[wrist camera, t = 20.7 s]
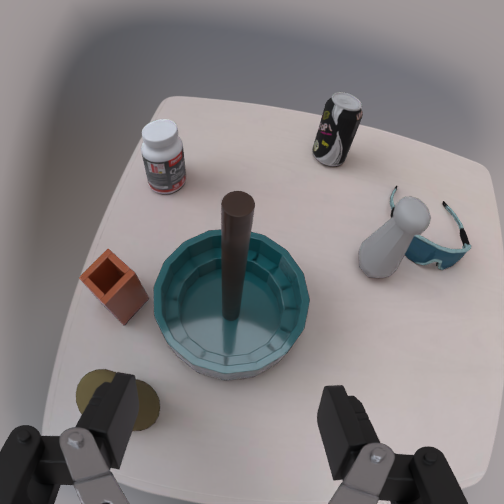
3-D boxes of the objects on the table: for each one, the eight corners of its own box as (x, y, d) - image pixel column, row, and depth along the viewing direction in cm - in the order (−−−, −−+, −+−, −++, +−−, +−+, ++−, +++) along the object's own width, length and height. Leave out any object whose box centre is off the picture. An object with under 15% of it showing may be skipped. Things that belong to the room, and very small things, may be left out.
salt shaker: (350, 277, 41) (392, 220, 29) (355, 241, 44) (393, 180, 32) (389, 289, 40) (440, 238, 29) (392, 254, 43) (437, 198, 32)
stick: (218, 313, 36) (214, 205, 19) (229, 301, 37) (235, 185, 20) (232, 324, 36) (241, 222, 19) (243, 311, 37) (261, 201, 19)
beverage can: (306, 147, 52) (321, 89, 42) (335, 144, 54) (354, 90, 43) (319, 170, 50) (339, 111, 39) (349, 167, 51) (372, 111, 40)
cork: (138, 441, 29) (102, 448, 19) (99, 405, 30) (53, 396, 21) (171, 403, 31) (148, 396, 22) (130, 368, 33) (95, 346, 23)
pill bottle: (181, 197, 45) (174, 145, 36) (144, 193, 45) (131, 143, 36) (190, 168, 48) (185, 117, 39) (155, 165, 48) (145, 116, 39)
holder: (99, 301, 36) (78, 277, 30) (124, 276, 38) (108, 247, 32) (124, 325, 35) (104, 305, 29) (149, 298, 37) (135, 272, 31)
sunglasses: (389, 261, 42) (404, 239, 38) (380, 192, 51) (391, 170, 47) (464, 280, 42) (482, 261, 38) (446, 213, 51) (459, 193, 47)
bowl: (137, 321, 36) (123, 303, 30) (220, 233, 42) (220, 205, 37) (243, 407, 32) (246, 405, 27) (320, 302, 39) (335, 282, 33)
